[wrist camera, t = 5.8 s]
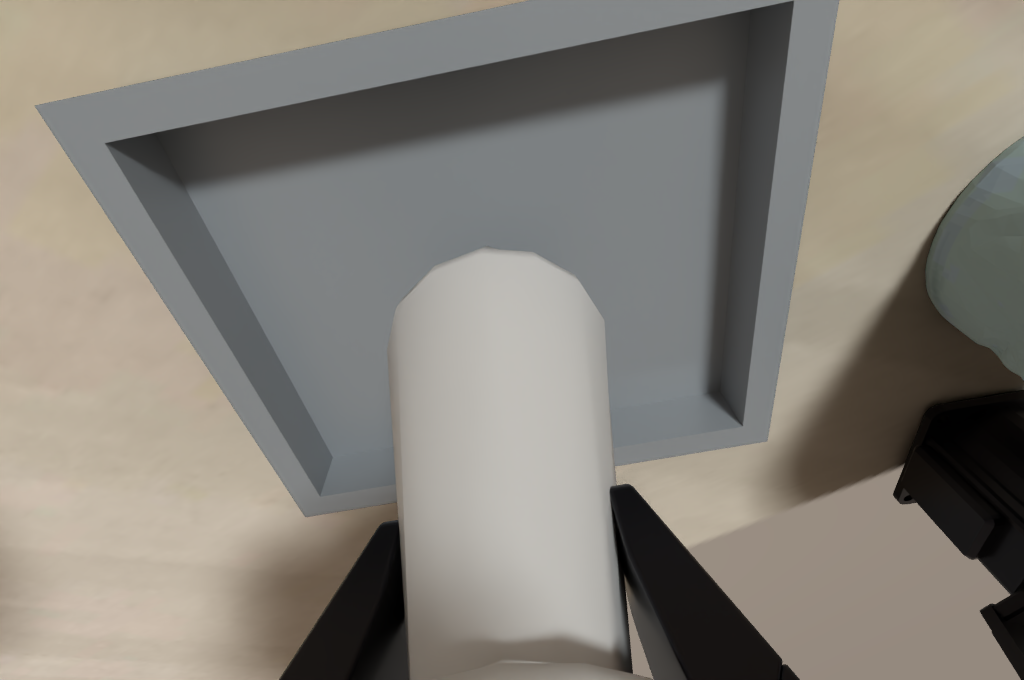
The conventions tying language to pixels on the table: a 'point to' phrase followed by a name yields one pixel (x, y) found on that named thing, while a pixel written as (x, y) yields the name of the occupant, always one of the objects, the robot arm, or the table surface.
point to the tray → (475, 209)
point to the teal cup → (985, 260)
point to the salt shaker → (506, 475)
